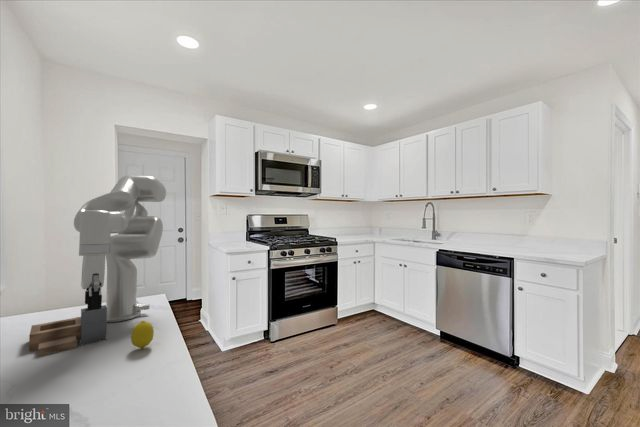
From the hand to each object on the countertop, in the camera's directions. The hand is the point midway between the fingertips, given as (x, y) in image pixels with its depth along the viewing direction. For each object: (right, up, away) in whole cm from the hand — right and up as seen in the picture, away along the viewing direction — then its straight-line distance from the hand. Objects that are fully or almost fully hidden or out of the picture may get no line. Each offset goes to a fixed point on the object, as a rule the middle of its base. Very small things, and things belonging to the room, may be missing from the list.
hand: (92, 306), depth 86 cm
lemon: (+18, -11, -5) cm, 22 cm away
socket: (-12, -11, +1) cm, 16 cm away
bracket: (0, -11, 0) cm, 11 cm away
